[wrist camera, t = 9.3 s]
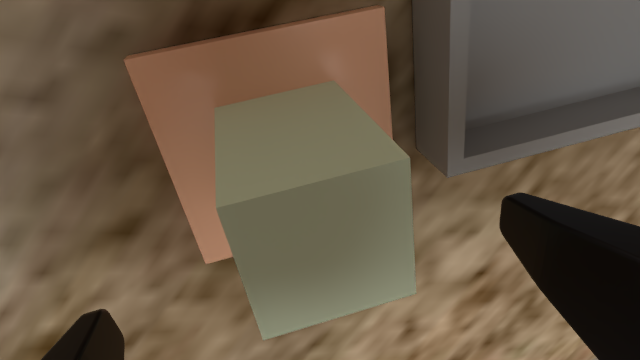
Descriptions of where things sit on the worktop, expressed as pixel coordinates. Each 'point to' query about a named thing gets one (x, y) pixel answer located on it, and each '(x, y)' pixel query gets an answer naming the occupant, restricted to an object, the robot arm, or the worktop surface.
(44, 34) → the worktop surface
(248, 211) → the sage block
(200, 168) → the coaster
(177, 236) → the worktop surface
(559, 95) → the bin
